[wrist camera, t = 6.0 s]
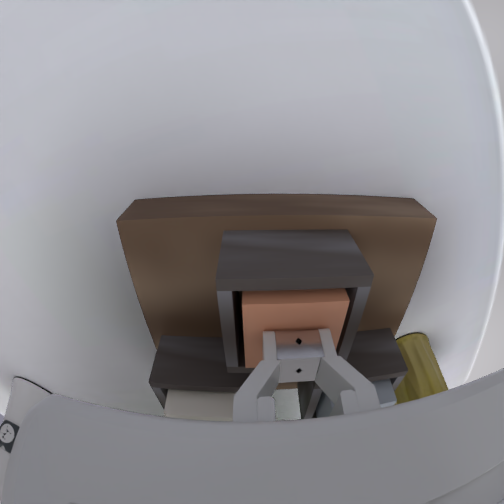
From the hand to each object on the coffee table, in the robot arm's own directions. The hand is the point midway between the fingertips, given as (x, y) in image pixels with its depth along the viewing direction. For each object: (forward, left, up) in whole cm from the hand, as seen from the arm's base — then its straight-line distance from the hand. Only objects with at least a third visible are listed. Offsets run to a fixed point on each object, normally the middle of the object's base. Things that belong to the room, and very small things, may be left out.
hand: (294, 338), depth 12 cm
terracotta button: (0, 0, -3) cm, 3 cm away
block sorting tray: (-4, 0, -7) cm, 8 cm away
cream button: (-8, +5, -2) cm, 10 cm away
